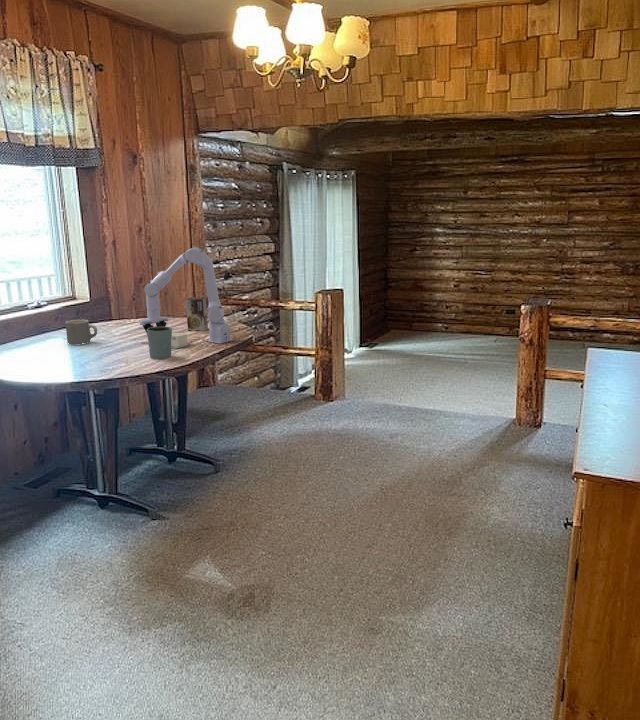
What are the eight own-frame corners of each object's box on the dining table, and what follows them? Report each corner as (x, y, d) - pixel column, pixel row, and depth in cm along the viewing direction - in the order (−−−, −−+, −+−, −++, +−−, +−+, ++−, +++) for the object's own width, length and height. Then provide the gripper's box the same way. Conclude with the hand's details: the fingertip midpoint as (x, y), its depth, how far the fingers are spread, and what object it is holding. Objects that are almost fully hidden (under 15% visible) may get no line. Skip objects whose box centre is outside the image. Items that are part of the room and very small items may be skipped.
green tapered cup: (152, 354, 269) (150, 326, 266) (176, 354, 268) (174, 326, 266) (145, 359, 259) (143, 330, 256) (170, 359, 259) (168, 330, 256)
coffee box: (208, 328, 326) (206, 297, 322) (204, 331, 319) (203, 299, 316) (191, 328, 326) (189, 297, 323) (187, 331, 320) (185, 299, 317)
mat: (193, 345, 286) (193, 344, 286) (174, 349, 277) (174, 348, 277) (160, 339, 300) (160, 338, 300) (141, 343, 292) (140, 342, 292)
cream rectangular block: (187, 345, 284) (186, 334, 283) (178, 347, 280) (177, 336, 279) (173, 342, 290) (172, 331, 289) (164, 344, 286) (163, 333, 285)
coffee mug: (63, 345, 290) (61, 323, 288) (73, 340, 299) (71, 319, 297) (92, 345, 289) (90, 323, 287) (101, 340, 299) (99, 319, 296)
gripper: (160, 306, 298) (162, 335, 302) (134, 310, 287) (137, 340, 291) (170, 308, 294) (172, 336, 297) (144, 312, 283) (146, 341, 286)
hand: (155, 338), depth 294 cm, fingers closed on stub, 5 cm apart
